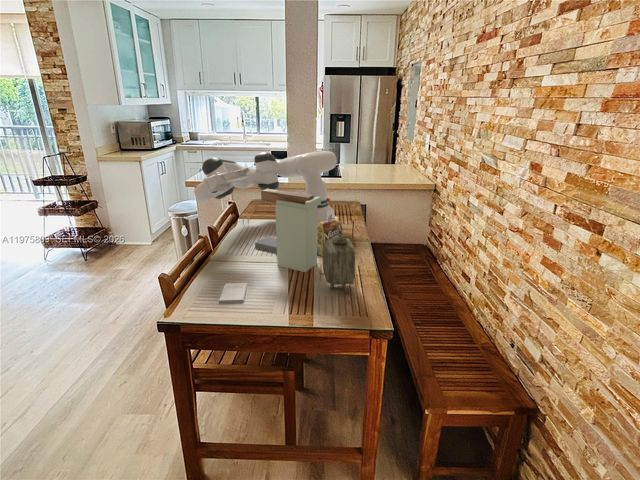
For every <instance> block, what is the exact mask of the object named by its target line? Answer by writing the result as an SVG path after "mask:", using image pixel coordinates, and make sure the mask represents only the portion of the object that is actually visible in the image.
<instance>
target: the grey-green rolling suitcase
mask: <svg viewBox="0 0 640 480" xmlns="http://www.w3.org/2000/svg"><path fill="white" fill-rule="evenodd" d="M337 228H338V235H335V236H334V238H333V239H328V240H326V241H324V242H323V256H322V270H323V271H322V272H323V274H324V279H325V280H326V282H327V283H328V284H329V288H330V289H333V288H335V286H337V285H342V286H343V287H344V289H345V294H346V295H349V294H350V292H351V291H350V290H349V289H348V288H347V285H353V284H354V283H355V271H356V250H355V247H354V244H353V243H352V241H351V239H350V238H348V237H346V236H344V235H343V225H342V223H341V222H340V221H339V222H338V225H337ZM339 228H340V229H339Z"/></svg>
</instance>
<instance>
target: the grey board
mask: <svg viewBox="0 0 640 480" xmlns="http://www.w3.org/2000/svg"><path fill="white" fill-rule="evenodd" d="M254 248H256V249H260V250H264V251H269V252H273V253H277V239H276V237H270V236H265V237H263V238H261V239H259V240H257V241H256V242H254Z"/></svg>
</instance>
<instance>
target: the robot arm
mask: <svg viewBox="0 0 640 480" xmlns="http://www.w3.org/2000/svg"><path fill="white" fill-rule="evenodd" d="M276 159H277V156H274V155H273V154H272V153H271V152H266V151H264V152H263V151H262V152H260V153H257V154H256V155H255V156H254V159H253V160H254V166H255V168H253V167H250V166H241V165H240V164H238V163H237V162H235V161H232V160H228V159H227V160H226V159H222V158H219V157H217V156H215V157H210V158H208V159H206V160H204V162H203V163H202V167H201V171H202V172H203V173H204V175H205V178H203V179H202V181H201V182H200V183H199V184H197V186H195V188H194V190H193V193H194V196H195V198H196V199H197V201H199V202H201V203H206V202H209V201H211V200H214V199H218V200H221V199H223V198H226V197H227V196H229V195H231V194H232V193H234V190H235V188H238V189H248V188H250V187H252V186H254V185H256V187H257V188H259V189H260V191H261V190H264V189H273V190H278V189H279V188H280V181H279V177H281V178H296V177H303V179H304V183H305V192H306V193H305V194H308V195H314V198H315V197H317V196H318V197H321V204H320V205H318V206H317V229H318V221H323V220H328V219H333V218H334V219H337V220H339V217H338V216H336V215H335V210H334V208H332V206H330V205H329V202H331V198H330V197H328V184H327V183H326V181H324V180H323V179H322V173H327V172H329V171H331V170H333V169H335V168H336V166H337V163H338V159H337V155H336V154H335V153H334V152H333V151H330V150H319V151H312V152H311V151H310V152H305V153H303V154H299V155H293V156H289V157H285V158H282V159H279V160H276Z"/></svg>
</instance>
